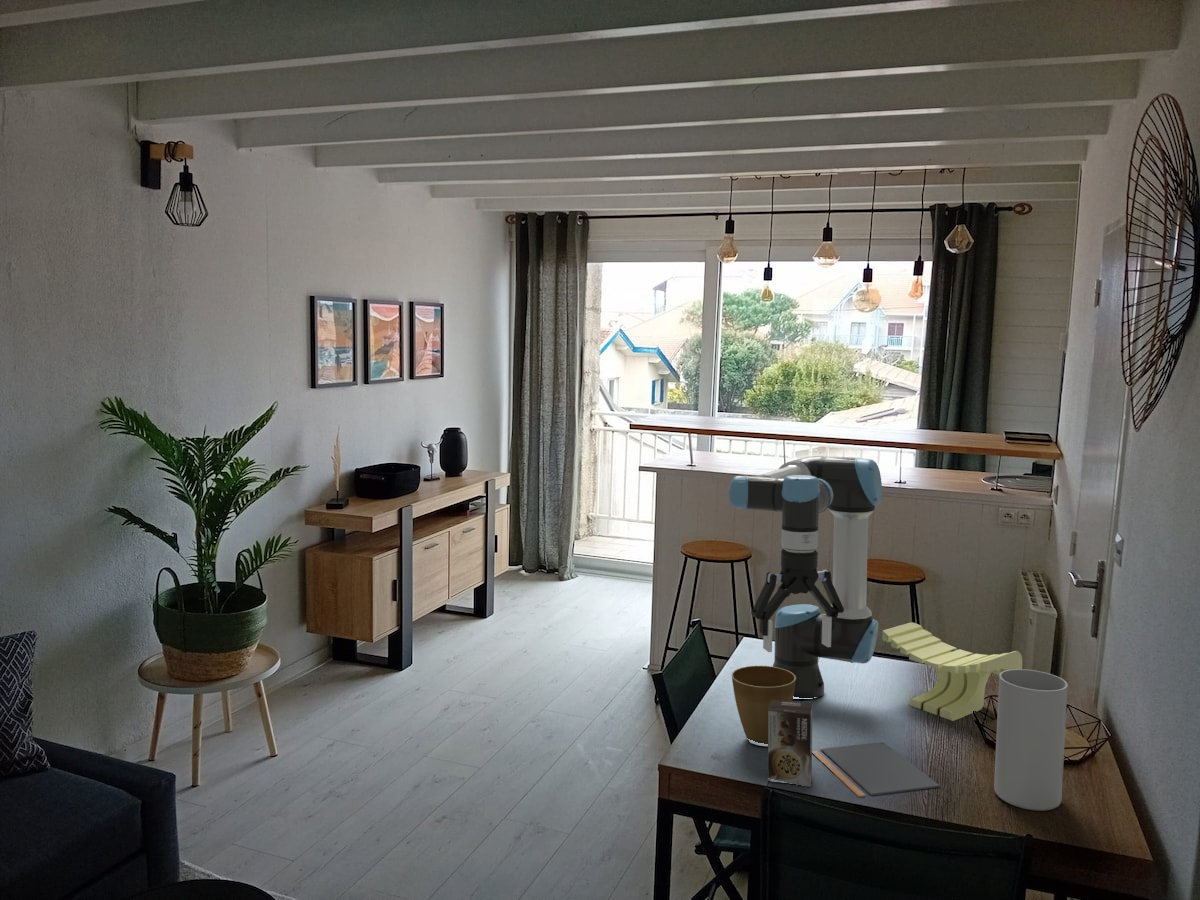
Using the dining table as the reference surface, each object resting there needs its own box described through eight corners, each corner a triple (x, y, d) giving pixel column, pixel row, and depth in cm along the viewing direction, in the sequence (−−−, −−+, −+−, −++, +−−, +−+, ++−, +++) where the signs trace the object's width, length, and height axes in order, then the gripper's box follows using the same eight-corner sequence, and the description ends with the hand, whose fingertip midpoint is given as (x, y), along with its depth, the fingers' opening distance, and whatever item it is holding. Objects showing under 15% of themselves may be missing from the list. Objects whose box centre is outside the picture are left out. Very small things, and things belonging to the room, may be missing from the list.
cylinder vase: (1006, 777, 192) (1012, 664, 189) (1069, 796, 183) (1075, 679, 181) (984, 797, 183) (989, 680, 180) (1049, 819, 174) (1056, 696, 172)
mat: (820, 750, 205) (820, 748, 205) (883, 743, 208) (883, 741, 208) (870, 795, 184) (870, 793, 183) (939, 787, 187) (939, 785, 187)
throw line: (809, 751, 204) (809, 750, 204) (815, 750, 205) (815, 749, 204) (858, 797, 183) (858, 795, 183) (865, 796, 183) (865, 794, 183)
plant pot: (794, 730, 216) (795, 666, 214) (794, 757, 201) (796, 689, 200) (732, 725, 219) (733, 662, 217) (728, 751, 204) (729, 684, 203)
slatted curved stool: (1019, 717, 224) (1023, 648, 222) (984, 732, 215) (987, 661, 213) (916, 682, 248) (918, 620, 247) (880, 694, 239) (882, 630, 237)
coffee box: (812, 774, 193) (813, 702, 191) (810, 788, 187) (812, 714, 185) (769, 769, 196) (771, 698, 194) (766, 782, 189) (768, 709, 188)
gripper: (751, 555, 180) (749, 657, 182) (862, 549, 186) (859, 648, 188) (737, 548, 187) (735, 646, 189) (844, 542, 193) (841, 638, 195)
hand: (797, 647), depth 188 cm, fingers open, 13 cm apart
